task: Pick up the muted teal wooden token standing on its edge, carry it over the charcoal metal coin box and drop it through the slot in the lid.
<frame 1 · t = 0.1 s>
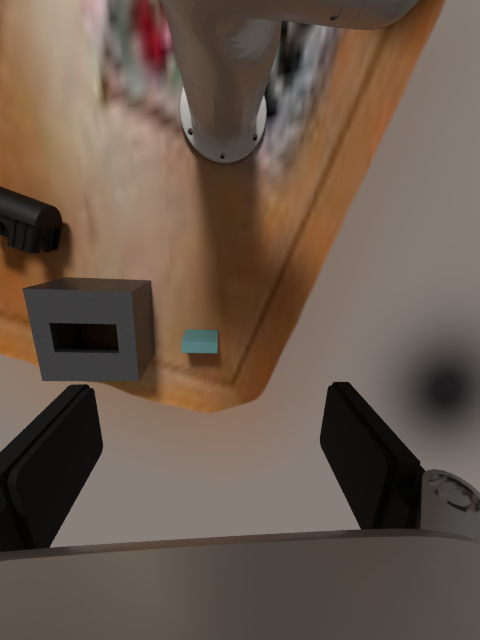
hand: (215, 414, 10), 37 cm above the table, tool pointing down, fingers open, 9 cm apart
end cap: (32, 219, 40), on the table
coin box: (113, 317, 46), on the table
token: (202, 334, 48), on the table
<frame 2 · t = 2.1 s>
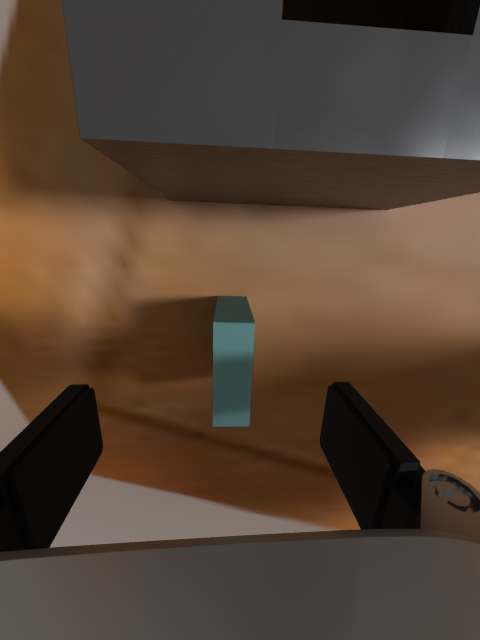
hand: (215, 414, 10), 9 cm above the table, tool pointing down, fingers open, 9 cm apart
coin box: (292, 67, 14), on the table
token: (231, 336, 19), on the table
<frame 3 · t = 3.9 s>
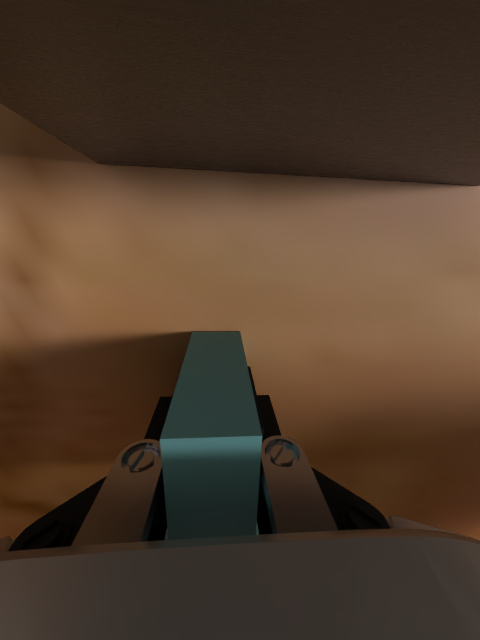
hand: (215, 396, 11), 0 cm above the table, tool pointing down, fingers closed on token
token: (216, 393, 12), on the table, touching gripper
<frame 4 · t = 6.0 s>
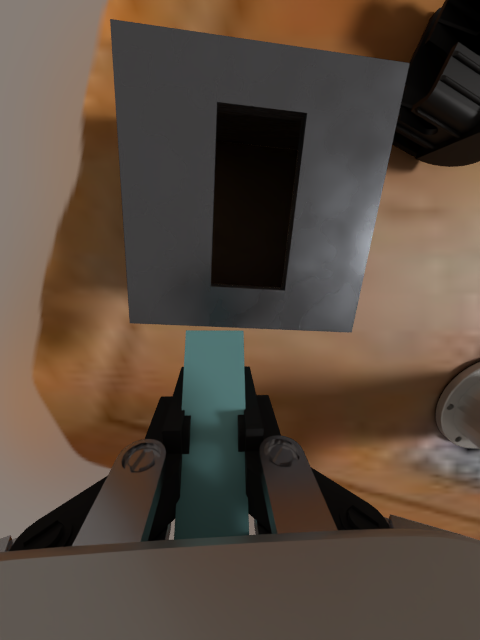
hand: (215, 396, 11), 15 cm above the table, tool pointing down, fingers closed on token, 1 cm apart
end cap: (434, 98, 22), on the table
coin box: (240, 220, 23), on the table
token: (216, 420, 13), point 14 cm above the table, tilted 39°, touching gripper
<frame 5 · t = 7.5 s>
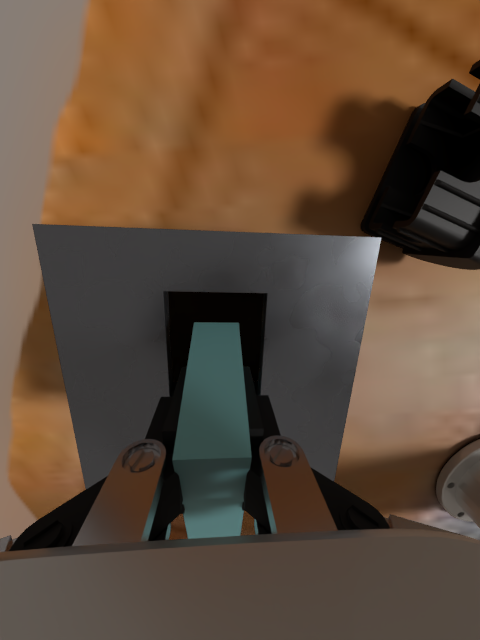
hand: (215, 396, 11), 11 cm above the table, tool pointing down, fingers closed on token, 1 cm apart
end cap: (420, 189, 20), on the table
coin box: (217, 320, 22), on the table
token: (215, 459, 12), point 11 cm above the table, tilted 73°, touching gripper
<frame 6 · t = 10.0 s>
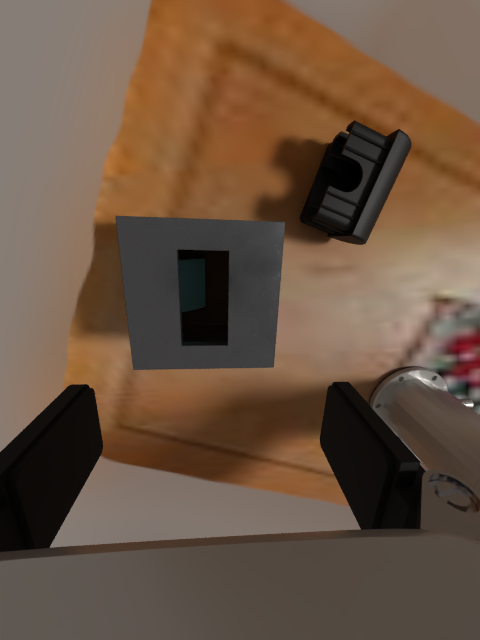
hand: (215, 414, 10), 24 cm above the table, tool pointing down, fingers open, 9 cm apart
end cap: (338, 194, 31), on the table
coin box: (207, 282, 33), on the table
token: (181, 309, 31), point 3 cm above the table, tilted 89°, touching coin box
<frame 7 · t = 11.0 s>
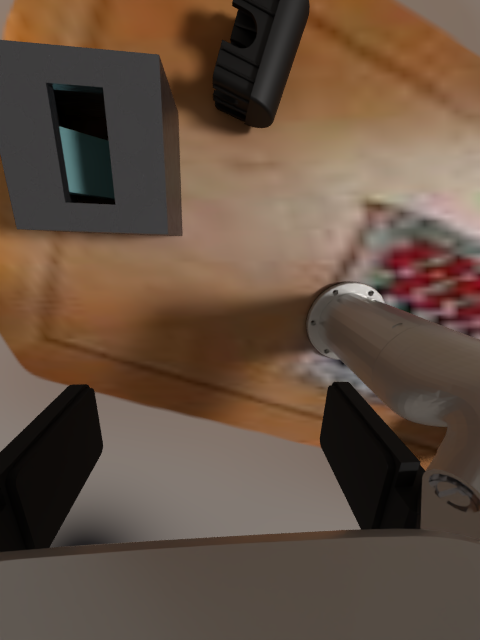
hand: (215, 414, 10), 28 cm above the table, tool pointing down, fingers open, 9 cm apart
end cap: (254, 79, 30), on the table
coin box: (124, 175, 32), on the table
token: (90, 195, 30), point 3 cm above the table, tilted 89°, touching coin box
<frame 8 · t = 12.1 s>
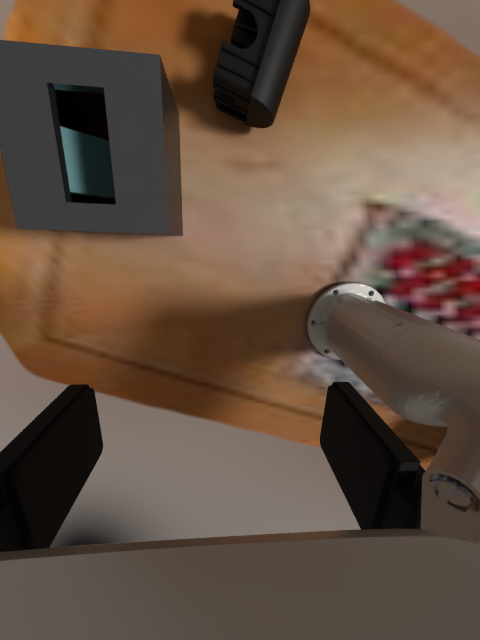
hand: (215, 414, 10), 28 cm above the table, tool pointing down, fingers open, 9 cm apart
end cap: (254, 79, 30), on the table
coin box: (124, 175, 32), on the table
token: (91, 195, 30), point 3 cm above the table, tilted 89°, touching coin box
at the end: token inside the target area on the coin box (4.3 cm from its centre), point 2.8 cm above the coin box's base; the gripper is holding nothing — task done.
